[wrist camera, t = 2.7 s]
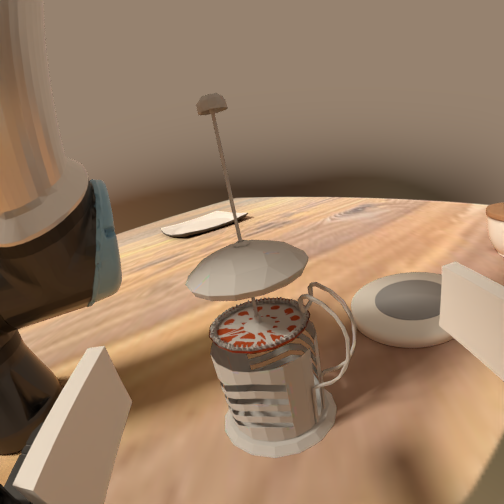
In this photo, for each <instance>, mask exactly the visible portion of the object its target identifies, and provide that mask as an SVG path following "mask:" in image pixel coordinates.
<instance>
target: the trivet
mask: <svg viewBox="0 0 504 504" xmlns="http://www.w3.org/2000/svg"><path fill="white" fill-rule="evenodd" d="M441 285H442V275H441V274H435V273H426V272H410V273H400V274H394V275H390V276H386V277H383V278H379V279H377V280H374V281H372V282H370V283H368V284H366V285H365V286H363V287H362V288H361V289H359V290H358V291H357V292H356V294H355V295H354V297H353V299H352V302H351V310H352V314H353V317H354V320H355V323H356V328H357V329H358V330H359V331H360V332H361V333H362V334H363V335H365V336H366V337H368V338H370V339H372V340H374V341H376V342H379V343H382V344H385V345H389V346H394V347H403V348H421V347H429V346H434V345H438V344H442V343H445V342H447V341H450V340H452V339H454V338H453V337H452V336H451V335H450V334H448V333H447V332H446V331H445V330H444V329H442V328H441V327H440V326H439V318H440V305H441Z"/></svg>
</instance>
